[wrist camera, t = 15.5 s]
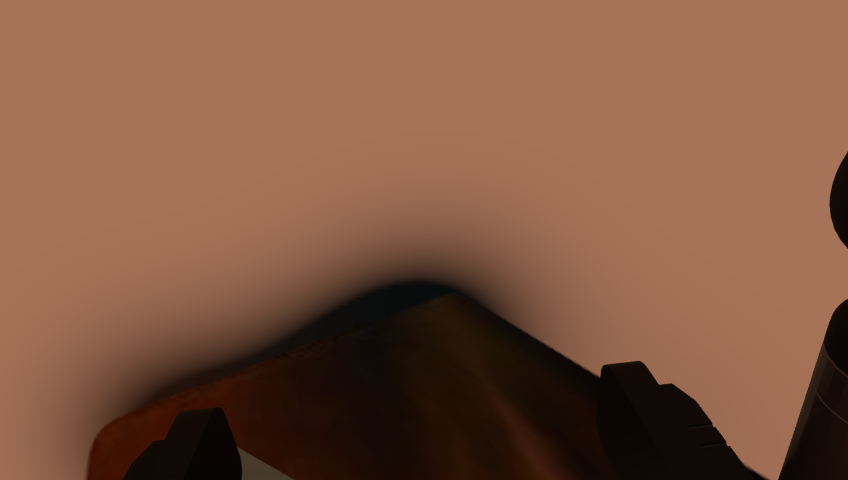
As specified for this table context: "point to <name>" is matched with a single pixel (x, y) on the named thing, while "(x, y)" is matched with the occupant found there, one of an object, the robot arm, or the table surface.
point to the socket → (258, 469)
